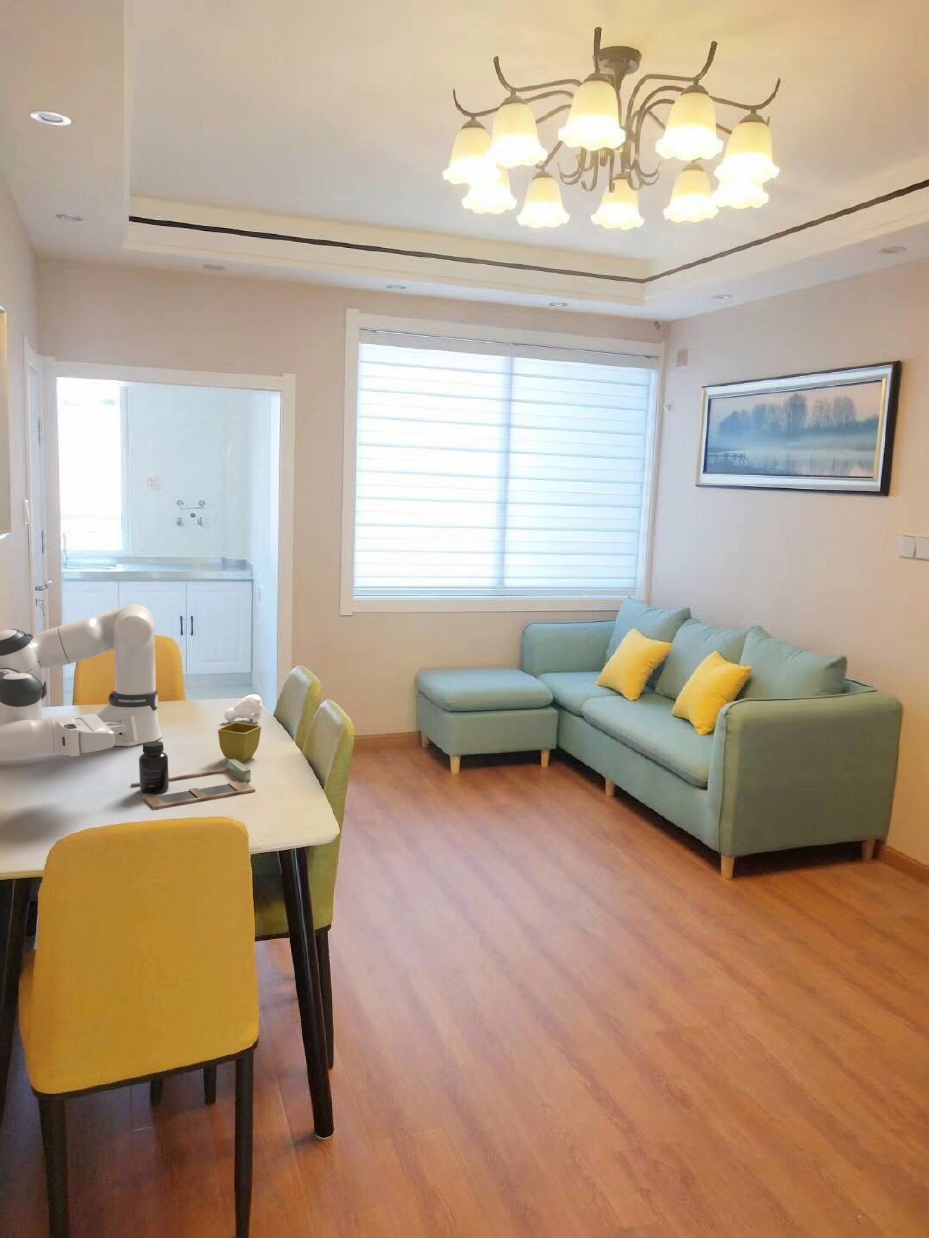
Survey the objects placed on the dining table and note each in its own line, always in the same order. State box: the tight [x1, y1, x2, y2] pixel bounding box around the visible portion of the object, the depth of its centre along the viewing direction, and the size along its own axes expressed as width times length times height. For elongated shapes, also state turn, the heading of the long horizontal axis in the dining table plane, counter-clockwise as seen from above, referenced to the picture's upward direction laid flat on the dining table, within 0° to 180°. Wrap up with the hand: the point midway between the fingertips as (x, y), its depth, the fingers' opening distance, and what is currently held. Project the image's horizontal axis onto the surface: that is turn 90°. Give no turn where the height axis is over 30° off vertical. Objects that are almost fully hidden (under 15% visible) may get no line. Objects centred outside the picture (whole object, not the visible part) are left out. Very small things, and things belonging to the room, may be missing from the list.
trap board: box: [130, 759, 256, 810], centre depth 229 cm, size 27×19×3 cm
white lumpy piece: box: [223, 694, 263, 724], centre depth 291 cm, size 6×8×12 cm
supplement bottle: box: [138, 740, 170, 795], centre depth 226 cm, size 7×7×12 cm
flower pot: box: [217, 721, 262, 763], centre depth 253 cm, size 9×9×9 cm
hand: (125, 726), depth 221 cm, fingers closed
